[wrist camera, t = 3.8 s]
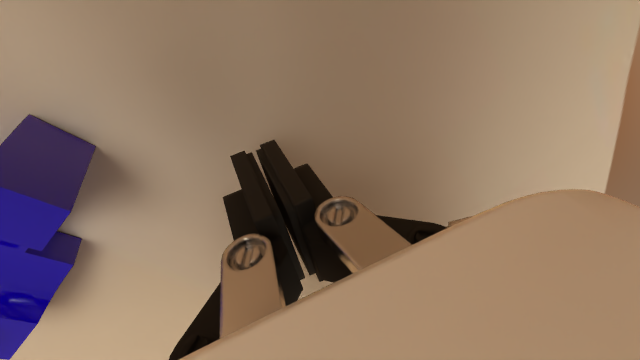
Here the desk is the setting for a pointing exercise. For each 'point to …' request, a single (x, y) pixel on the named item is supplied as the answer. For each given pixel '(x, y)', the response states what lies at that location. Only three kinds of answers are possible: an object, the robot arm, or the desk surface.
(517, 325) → the robot arm
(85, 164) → the cable holder
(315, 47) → the desk surface
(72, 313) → the desk surface
